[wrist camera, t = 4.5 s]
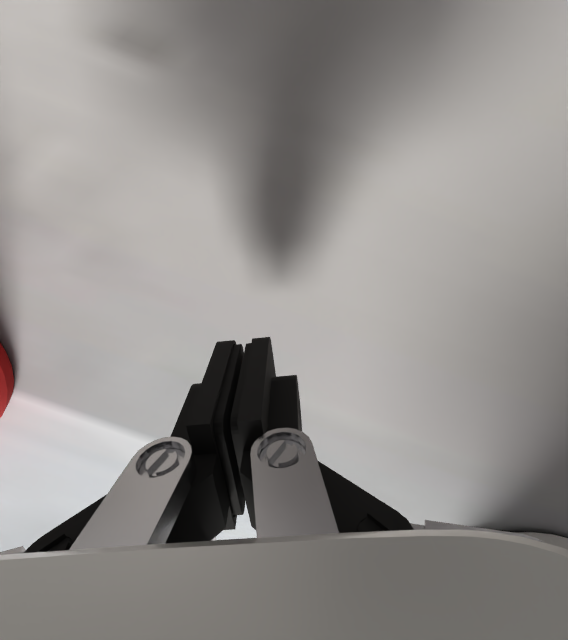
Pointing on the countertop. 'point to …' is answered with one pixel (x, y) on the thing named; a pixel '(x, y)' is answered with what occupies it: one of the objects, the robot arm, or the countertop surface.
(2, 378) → the canned food
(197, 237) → the countertop surface
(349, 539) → the robot arm
